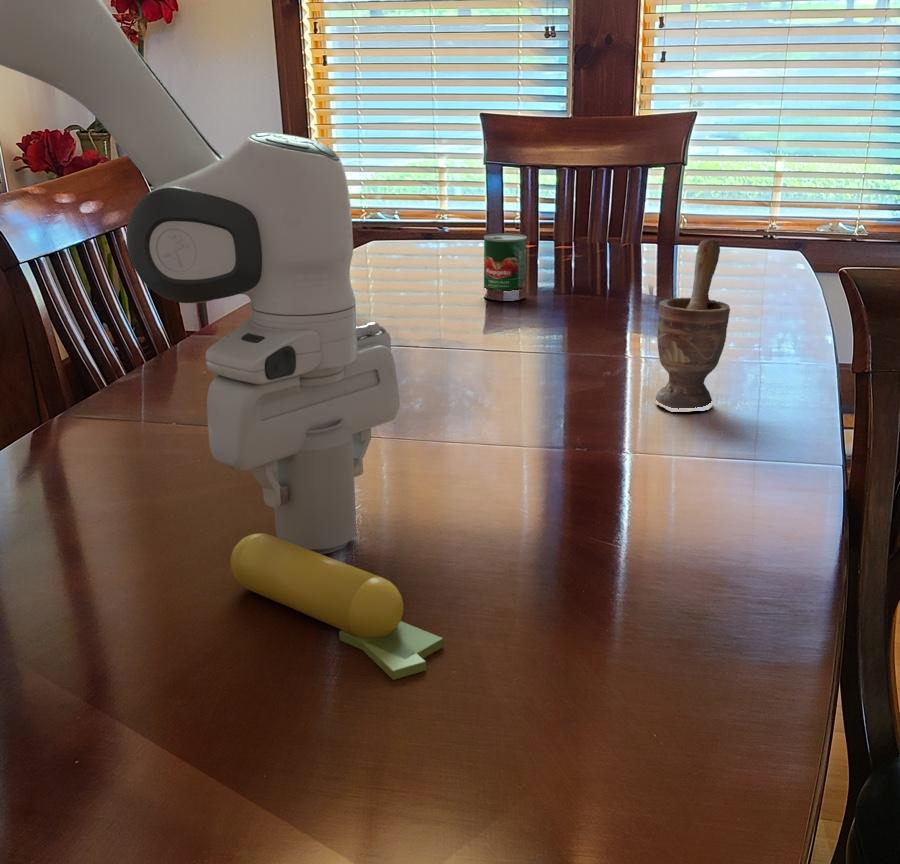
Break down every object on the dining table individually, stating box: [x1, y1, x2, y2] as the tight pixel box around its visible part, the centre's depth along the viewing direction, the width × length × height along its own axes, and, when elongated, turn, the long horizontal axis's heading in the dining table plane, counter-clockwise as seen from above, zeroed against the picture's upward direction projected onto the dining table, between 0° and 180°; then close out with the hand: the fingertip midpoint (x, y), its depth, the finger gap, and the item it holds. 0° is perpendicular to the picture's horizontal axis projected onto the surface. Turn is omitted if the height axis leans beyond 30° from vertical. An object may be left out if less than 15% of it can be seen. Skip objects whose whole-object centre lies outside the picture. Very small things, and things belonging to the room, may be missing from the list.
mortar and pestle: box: [655, 238, 731, 409], centre depth 137 cm, size 12×9×20 cm
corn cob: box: [230, 532, 444, 681], centre depth 86 cm, size 22×6×5 cm, turn 50°
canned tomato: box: [483, 233, 528, 291], centre depth 199 cm, size 8×8×11 cm
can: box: [273, 419, 357, 555], centre depth 99 cm, size 8×8×12 cm
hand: (315, 489), depth 99 cm, fingers open, 8 cm apart
